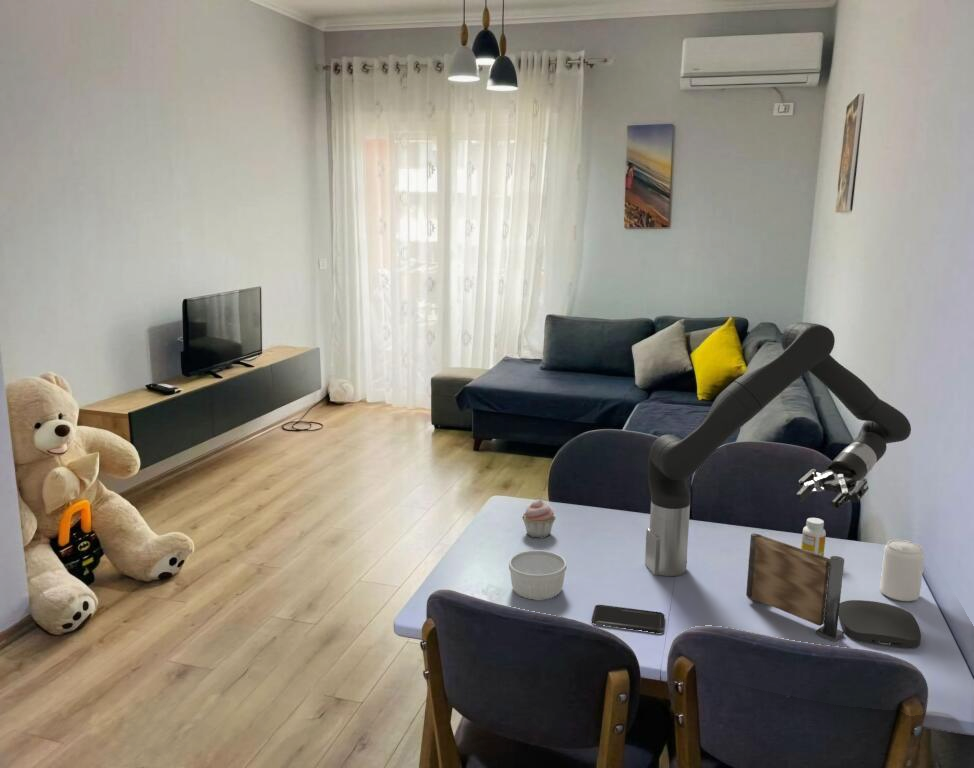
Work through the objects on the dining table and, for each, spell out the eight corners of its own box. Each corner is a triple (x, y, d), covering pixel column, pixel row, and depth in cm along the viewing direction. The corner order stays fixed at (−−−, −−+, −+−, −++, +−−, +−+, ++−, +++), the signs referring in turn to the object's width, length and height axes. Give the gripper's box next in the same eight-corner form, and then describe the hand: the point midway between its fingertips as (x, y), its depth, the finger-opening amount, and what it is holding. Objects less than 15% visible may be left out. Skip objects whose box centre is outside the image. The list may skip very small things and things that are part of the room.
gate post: (849, 631, 163) (857, 556, 159) (834, 642, 159) (842, 565, 155) (755, 593, 179) (760, 523, 176) (739, 602, 175) (744, 531, 172)
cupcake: (557, 540, 208) (558, 505, 206) (522, 540, 208) (522, 505, 206) (554, 526, 217) (555, 492, 215) (521, 526, 217) (521, 492, 215)
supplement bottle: (819, 552, 201) (823, 516, 199) (826, 561, 195) (830, 525, 193) (797, 551, 201) (801, 516, 199) (804, 560, 196) (807, 524, 194)
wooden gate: (824, 623, 163) (830, 559, 160) (819, 626, 162) (825, 561, 159) (749, 592, 176) (754, 532, 173) (744, 595, 175) (749, 535, 172)
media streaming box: (835, 607, 173) (836, 595, 173) (908, 617, 169) (909, 604, 169) (844, 641, 160) (846, 628, 159) (924, 653, 156) (925, 639, 155)
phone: (663, 631, 162) (590, 621, 166) (662, 636, 162) (590, 626, 166) (664, 612, 169) (595, 603, 173) (664, 617, 169) (595, 608, 173)
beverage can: (915, 589, 181) (921, 541, 178) (922, 605, 174) (928, 555, 171) (877, 584, 184) (882, 536, 181) (881, 600, 176) (887, 550, 173)
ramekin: (526, 608, 173) (527, 579, 171) (498, 584, 184) (498, 556, 182) (576, 595, 179) (577, 567, 177) (546, 572, 190) (546, 545, 188)
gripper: (821, 446, 189) (784, 483, 181) (879, 455, 178) (842, 495, 170) (827, 472, 192) (791, 509, 184) (885, 483, 180) (849, 523, 172)
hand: (816, 502), depth 177 cm, fingers open, 8 cm apart
